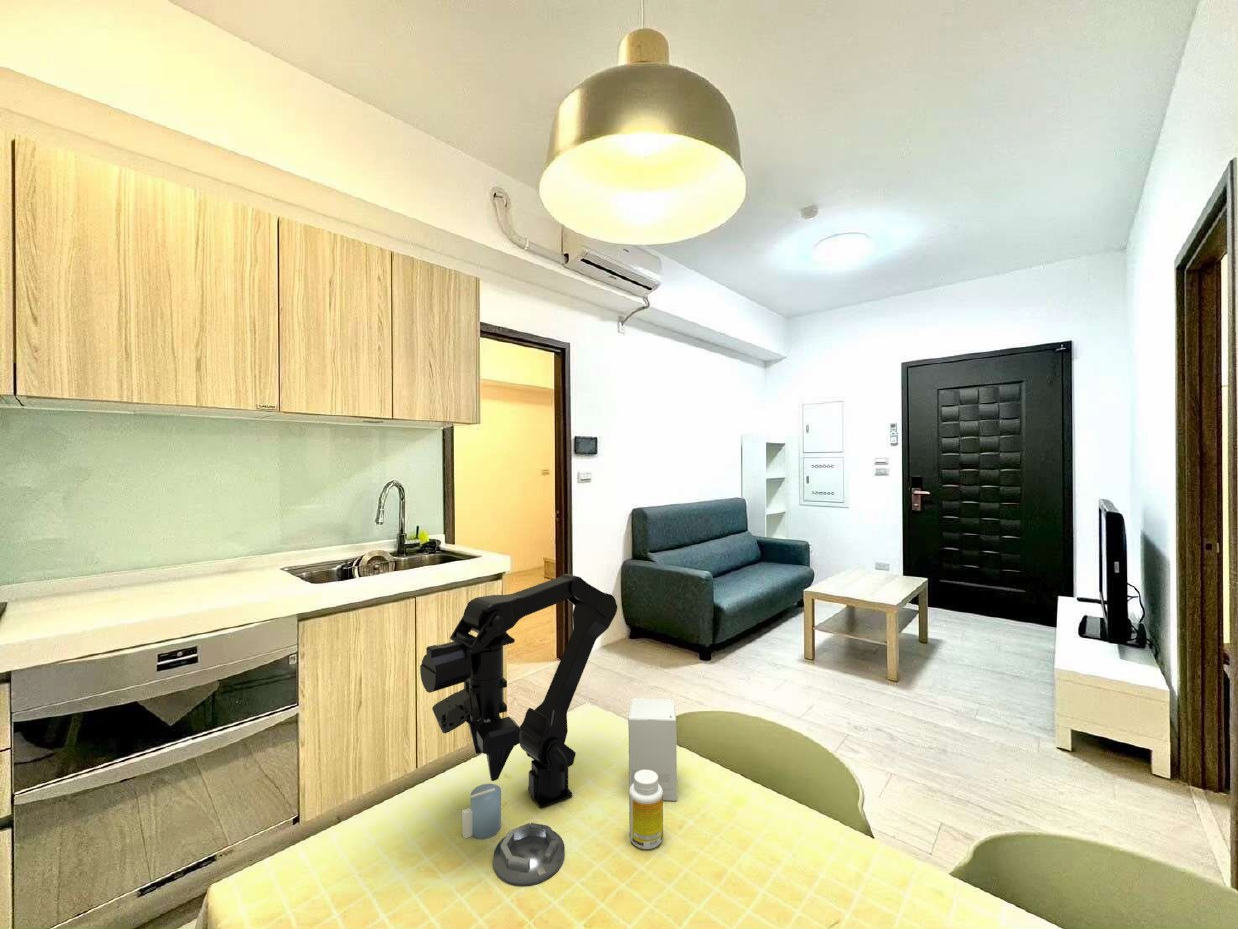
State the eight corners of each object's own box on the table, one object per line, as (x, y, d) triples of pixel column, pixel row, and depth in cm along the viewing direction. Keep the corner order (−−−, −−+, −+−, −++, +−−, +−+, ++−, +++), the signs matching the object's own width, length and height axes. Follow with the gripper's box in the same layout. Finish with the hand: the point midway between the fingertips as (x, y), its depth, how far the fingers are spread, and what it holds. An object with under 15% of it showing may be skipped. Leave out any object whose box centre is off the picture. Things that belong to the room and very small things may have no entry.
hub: (548, 824, 87) (548, 810, 87) (576, 867, 78) (576, 851, 78) (484, 848, 81) (484, 833, 82) (506, 898, 72) (506, 880, 72)
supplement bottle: (668, 846, 82) (668, 782, 82) (636, 855, 80) (636, 789, 80) (654, 823, 87) (654, 763, 87) (624, 831, 85) (624, 770, 85)
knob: (495, 814, 90) (495, 779, 90) (504, 832, 85) (504, 794, 85) (459, 827, 86) (459, 790, 86) (467, 846, 82) (467, 807, 82)
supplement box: (676, 773, 102) (675, 698, 102) (677, 802, 93) (677, 720, 93) (631, 771, 103) (630, 696, 103) (627, 799, 94) (627, 718, 94)
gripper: (426, 665, 90) (426, 753, 90) (449, 707, 74) (450, 814, 74) (488, 653, 96) (488, 736, 96) (522, 690, 80) (522, 789, 80)
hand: (486, 766), depth 86 cm, fingers open, 9 cm apart
